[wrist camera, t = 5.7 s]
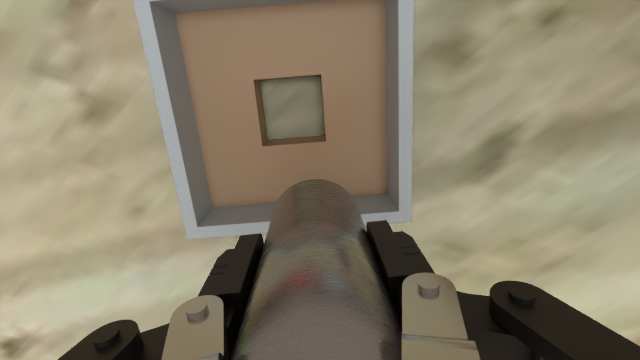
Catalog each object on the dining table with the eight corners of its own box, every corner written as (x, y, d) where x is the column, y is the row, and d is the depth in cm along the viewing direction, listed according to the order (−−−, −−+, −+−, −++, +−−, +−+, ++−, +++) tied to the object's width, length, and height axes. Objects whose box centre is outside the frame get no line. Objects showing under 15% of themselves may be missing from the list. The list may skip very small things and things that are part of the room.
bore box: (389, -11, 27) (414, -40, 20) (391, 192, 32) (411, 221, 26) (175, 7, 27) (129, -16, 20) (213, 206, 32) (187, 239, 26)
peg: (356, 174, 14) (486, 453, 4) (362, 254, 15) (472, 635, 5) (266, 184, 14) (137, 489, 4) (279, 263, 15) (209, 659, 5)
